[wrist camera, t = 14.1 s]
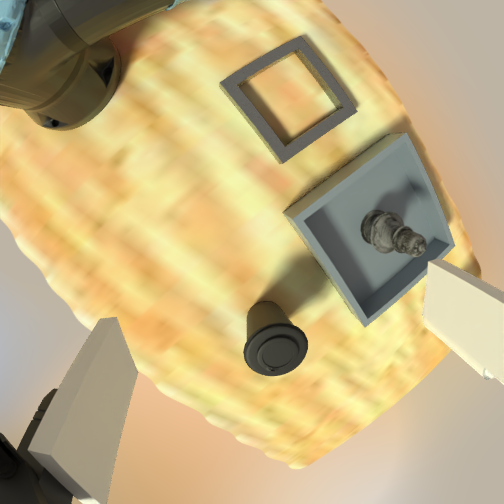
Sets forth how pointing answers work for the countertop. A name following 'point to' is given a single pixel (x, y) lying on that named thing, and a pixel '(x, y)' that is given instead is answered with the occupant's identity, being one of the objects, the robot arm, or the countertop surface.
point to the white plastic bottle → (458, 349)
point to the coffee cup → (273, 341)
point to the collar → (258, 122)
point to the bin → (350, 218)
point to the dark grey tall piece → (391, 234)
